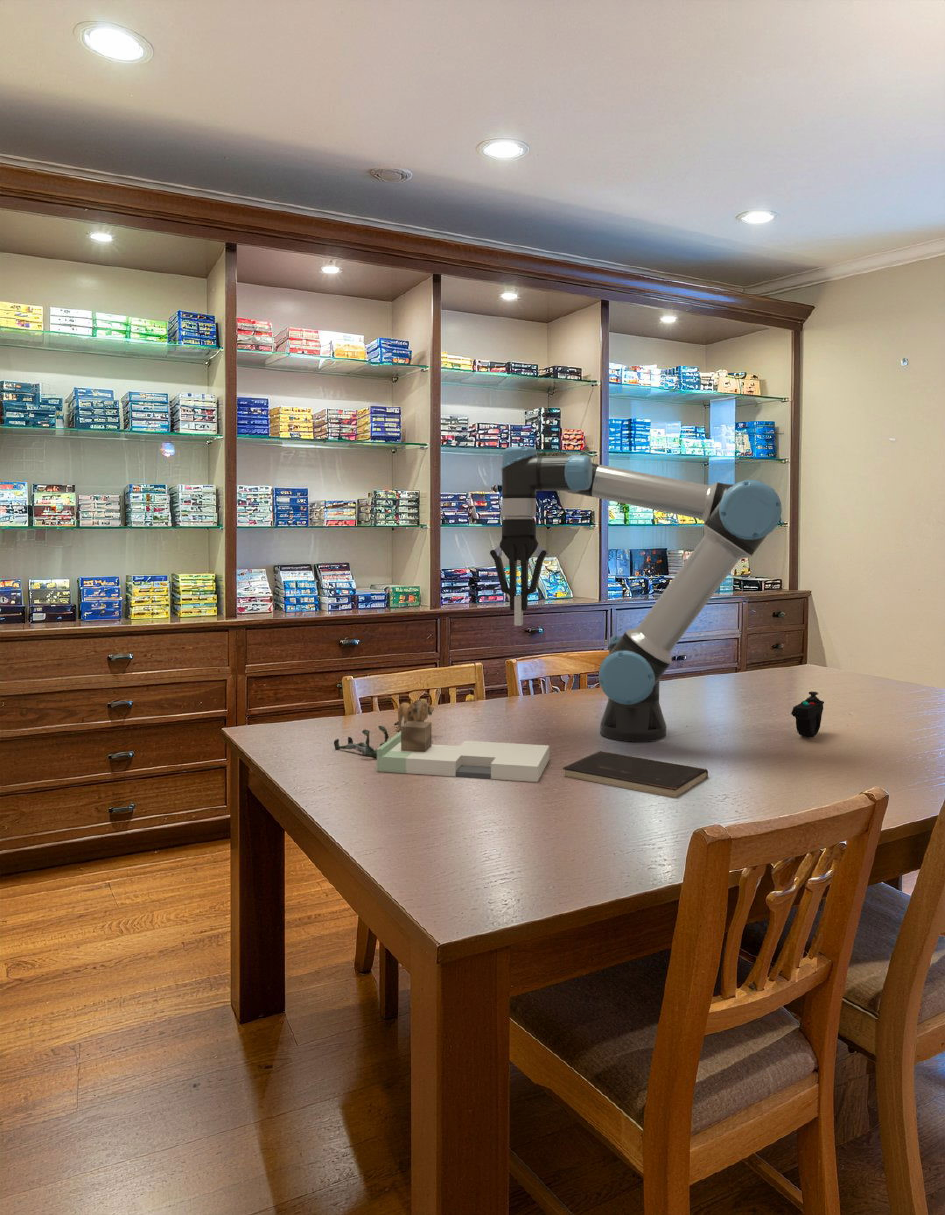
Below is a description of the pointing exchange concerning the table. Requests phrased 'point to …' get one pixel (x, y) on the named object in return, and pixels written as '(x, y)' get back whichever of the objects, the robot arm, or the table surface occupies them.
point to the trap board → (467, 760)
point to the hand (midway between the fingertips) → (518, 624)
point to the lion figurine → (414, 712)
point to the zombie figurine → (362, 744)
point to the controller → (808, 715)
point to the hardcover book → (636, 773)
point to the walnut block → (416, 736)
